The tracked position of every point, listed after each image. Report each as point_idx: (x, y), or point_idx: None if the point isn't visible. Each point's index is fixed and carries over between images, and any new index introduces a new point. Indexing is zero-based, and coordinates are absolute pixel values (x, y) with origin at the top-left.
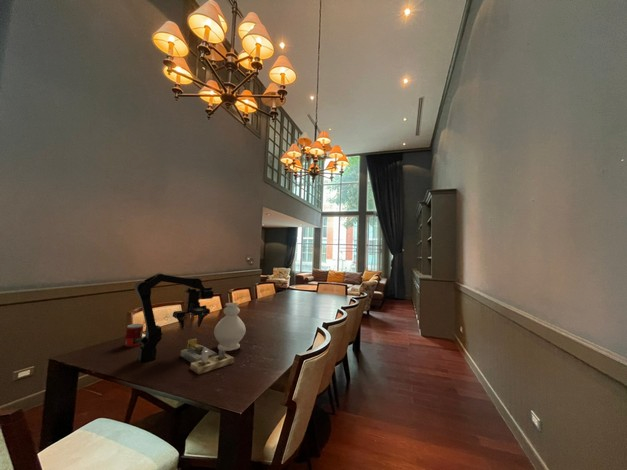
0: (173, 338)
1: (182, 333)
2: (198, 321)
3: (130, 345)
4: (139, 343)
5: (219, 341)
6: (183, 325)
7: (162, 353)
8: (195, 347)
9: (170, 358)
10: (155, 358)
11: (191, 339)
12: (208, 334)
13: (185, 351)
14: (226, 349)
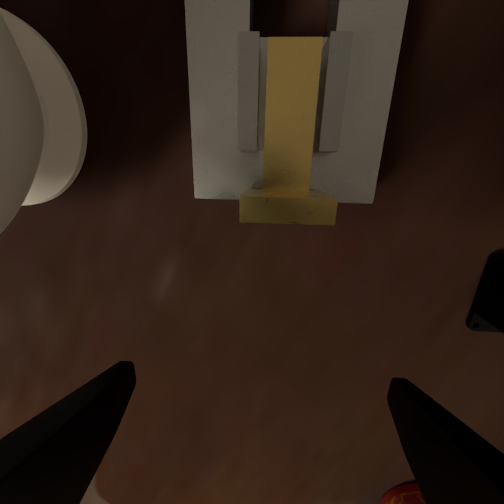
0: (231, 471)
1: (164, 500)
2: (77, 478)
3: None
4: (407, 496)
5: (33, 85)
6: (460, 445)
7: (397, 320)
8: (319, 68)
9: (422, 206)
10: (499, 256)
11: (294, 219)
12: None
13: (369, 146)
14: (36, 36)
